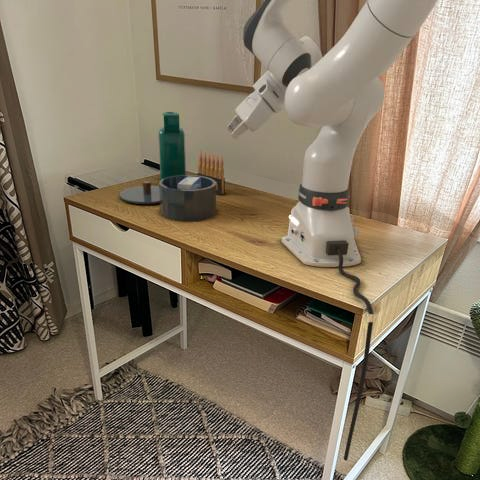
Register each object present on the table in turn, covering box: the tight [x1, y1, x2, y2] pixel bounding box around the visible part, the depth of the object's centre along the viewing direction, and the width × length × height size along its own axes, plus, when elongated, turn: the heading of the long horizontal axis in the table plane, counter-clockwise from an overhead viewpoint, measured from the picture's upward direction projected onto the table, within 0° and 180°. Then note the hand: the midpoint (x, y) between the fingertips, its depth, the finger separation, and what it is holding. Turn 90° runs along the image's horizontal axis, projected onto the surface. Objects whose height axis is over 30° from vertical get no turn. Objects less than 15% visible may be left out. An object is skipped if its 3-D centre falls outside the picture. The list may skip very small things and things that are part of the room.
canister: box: [158, 174, 217, 222], centre depth 137 cm, size 16×16×8 cm
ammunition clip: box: [196, 150, 226, 196], centre depth 154 cm, size 11×2×12 cm, turn 52°
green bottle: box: [157, 111, 187, 180], centre depth 160 cm, size 10×8×22 cm
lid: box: [119, 180, 160, 205], centre depth 149 cm, size 17×17×5 cm
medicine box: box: [178, 176, 201, 190], centre depth 137 cm, size 8×4×9 cm, turn 167°
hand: (230, 133), depth 131 cm, fingers open, 8 cm apart
